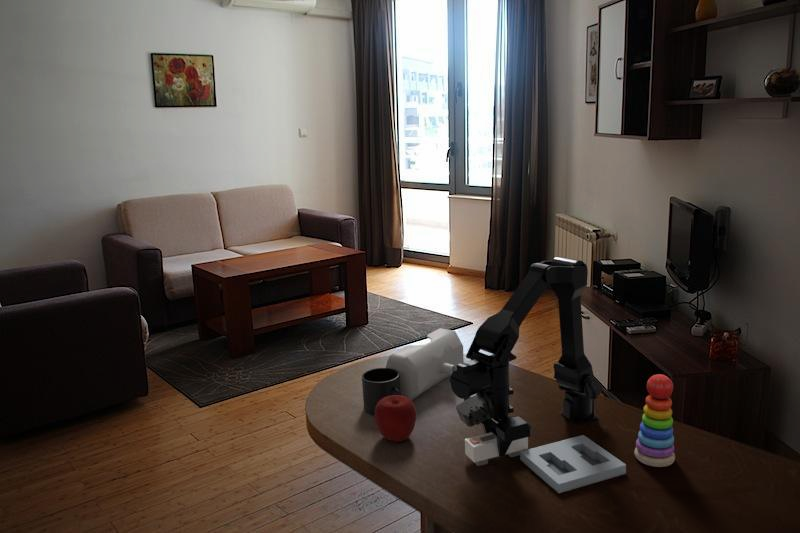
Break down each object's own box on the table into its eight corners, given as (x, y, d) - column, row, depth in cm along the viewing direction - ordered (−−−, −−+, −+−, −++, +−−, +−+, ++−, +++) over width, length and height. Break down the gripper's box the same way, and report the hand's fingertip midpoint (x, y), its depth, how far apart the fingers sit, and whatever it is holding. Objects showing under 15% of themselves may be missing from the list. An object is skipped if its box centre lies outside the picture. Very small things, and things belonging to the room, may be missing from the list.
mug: (388, 423, 163) (386, 388, 161) (356, 409, 172) (354, 375, 169) (416, 410, 169) (414, 376, 167) (383, 396, 178) (381, 364, 176)
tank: (427, 410, 169) (425, 363, 166) (377, 396, 179) (375, 352, 176) (478, 375, 189) (477, 333, 186) (430, 364, 198) (429, 324, 195)
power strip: (518, 446, 149) (517, 424, 148) (527, 455, 145) (527, 432, 144) (465, 460, 145) (464, 437, 143) (474, 469, 141) (473, 446, 140)
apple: (425, 440, 154) (423, 399, 152) (389, 452, 149) (386, 411, 147) (403, 424, 162) (401, 385, 160) (368, 436, 157) (366, 396, 155)
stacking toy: (655, 473, 136) (659, 386, 132) (626, 455, 143) (628, 373, 139) (683, 461, 140) (688, 377, 135) (652, 445, 147) (656, 364, 142)
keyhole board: (583, 443, 149) (583, 434, 149) (625, 473, 137) (626, 464, 136) (520, 460, 144) (520, 451, 143) (558, 493, 131) (558, 484, 130)
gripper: (441, 375, 147) (443, 440, 150) (482, 409, 130) (484, 482, 133) (486, 365, 150) (488, 429, 154) (532, 397, 134) (533, 468, 137)
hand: (496, 451), depth 145 cm, fingers closed on power strip, 4 cm apart
